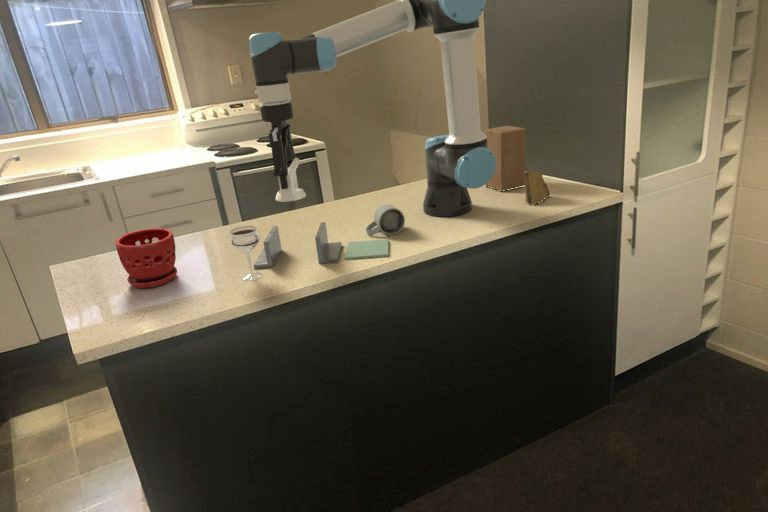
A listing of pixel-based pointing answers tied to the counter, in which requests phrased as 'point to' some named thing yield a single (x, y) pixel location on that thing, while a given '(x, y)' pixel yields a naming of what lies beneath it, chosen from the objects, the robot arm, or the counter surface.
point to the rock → (535, 187)
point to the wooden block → (507, 156)
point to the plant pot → (148, 257)
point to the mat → (367, 249)
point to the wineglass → (245, 245)
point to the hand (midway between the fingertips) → (290, 196)
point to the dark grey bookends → (273, 248)
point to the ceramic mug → (386, 221)
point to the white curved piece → (296, 192)
